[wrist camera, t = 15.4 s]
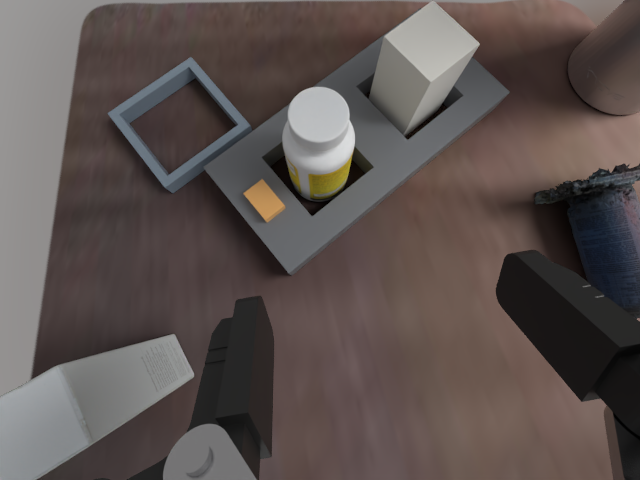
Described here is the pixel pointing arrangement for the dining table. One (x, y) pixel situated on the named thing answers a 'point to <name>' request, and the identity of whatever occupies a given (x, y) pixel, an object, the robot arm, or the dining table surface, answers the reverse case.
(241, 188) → the socket strip
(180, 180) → the blue-grey square frame
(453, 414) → the dining table surface
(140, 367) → the skincare box
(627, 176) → the dark piece
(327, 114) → the supplement bottle
